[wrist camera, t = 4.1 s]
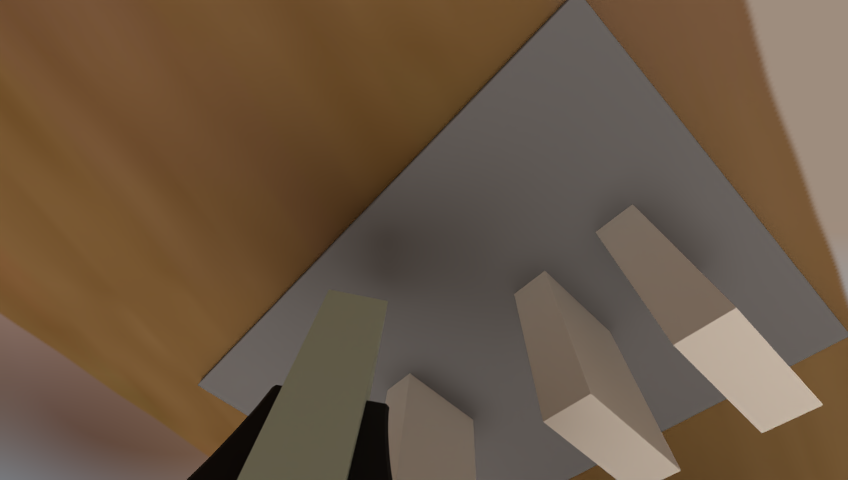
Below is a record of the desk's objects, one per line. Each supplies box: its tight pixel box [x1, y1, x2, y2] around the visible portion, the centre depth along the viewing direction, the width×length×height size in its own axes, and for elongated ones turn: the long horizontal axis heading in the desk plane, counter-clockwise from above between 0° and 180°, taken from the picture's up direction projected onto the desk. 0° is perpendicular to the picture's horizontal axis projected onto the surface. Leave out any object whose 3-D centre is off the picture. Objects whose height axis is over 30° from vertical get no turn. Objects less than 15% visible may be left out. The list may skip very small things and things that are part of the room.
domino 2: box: [514, 271, 681, 480], centre depth 16 cm, size 2×5×7 cm, turn 47°
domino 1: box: [385, 373, 476, 480], centre depth 20 cm, size 2×5×7 cm, turn 47°
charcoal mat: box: [198, 0, 848, 480], centre depth 21 cm, size 20×26×1 cm
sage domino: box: [237, 290, 388, 480], centre depth 10 cm, size 2×5×7 cm, turn 169°
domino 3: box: [596, 204, 823, 433], centre depth 15 cm, size 2×5×7 cm, turn 47°
